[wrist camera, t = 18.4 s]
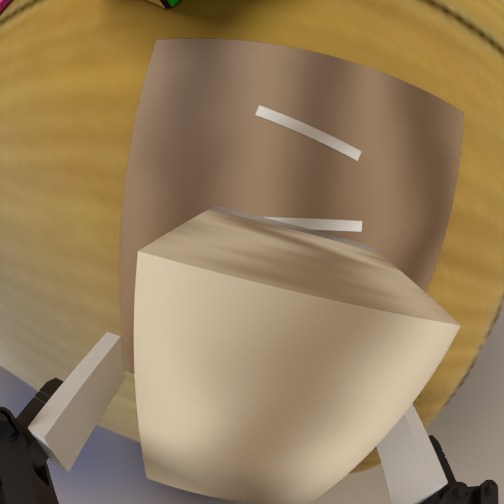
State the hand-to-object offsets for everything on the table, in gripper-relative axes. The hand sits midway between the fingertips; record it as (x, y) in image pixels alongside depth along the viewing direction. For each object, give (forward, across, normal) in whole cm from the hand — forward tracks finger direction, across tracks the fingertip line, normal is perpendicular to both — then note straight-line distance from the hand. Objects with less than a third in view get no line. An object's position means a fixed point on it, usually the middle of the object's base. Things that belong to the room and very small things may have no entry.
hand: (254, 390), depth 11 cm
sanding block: (+5, 0, 0) cm, 5 cm away
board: (+7, 0, +5) cm, 8 cm away
